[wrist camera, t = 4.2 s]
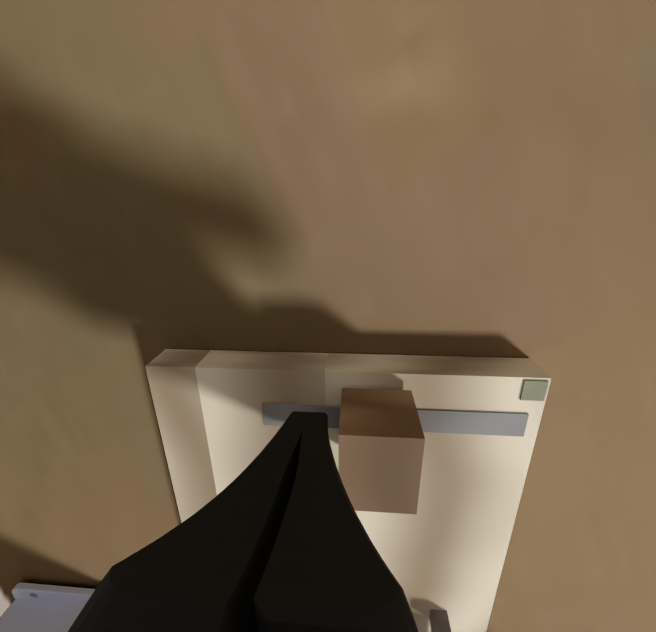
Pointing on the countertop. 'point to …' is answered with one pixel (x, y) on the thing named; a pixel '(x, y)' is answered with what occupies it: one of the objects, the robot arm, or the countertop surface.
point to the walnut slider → (380, 450)
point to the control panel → (325, 396)
